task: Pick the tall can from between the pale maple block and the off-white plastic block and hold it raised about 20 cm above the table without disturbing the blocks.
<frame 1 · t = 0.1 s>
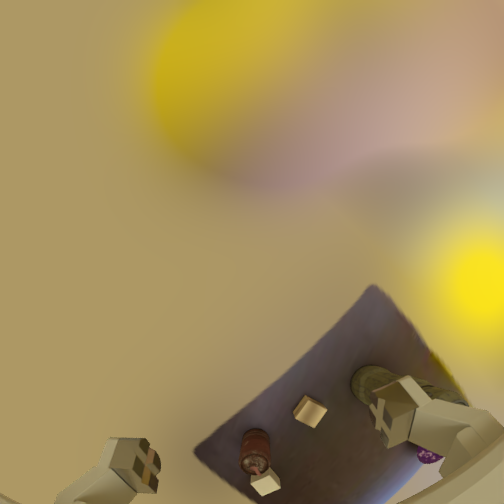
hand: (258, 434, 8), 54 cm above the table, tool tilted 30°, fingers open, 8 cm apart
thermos: (367, 382, 57), on the table
decorative mushroom: (420, 432, 52), on the table
maple block: (307, 408, 56), on the table
can: (256, 439, 55), on the table
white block: (265, 476, 51), on the table
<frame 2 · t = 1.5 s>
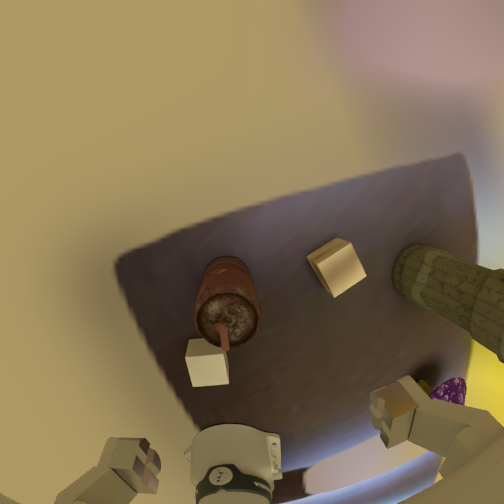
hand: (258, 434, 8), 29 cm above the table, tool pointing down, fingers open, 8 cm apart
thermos: (412, 270, 40), on the table
decorative mushroom: (418, 381, 45), on the table
maple block: (329, 261, 38), on the table
can: (227, 278, 37), on the table
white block: (209, 352, 39), on the table
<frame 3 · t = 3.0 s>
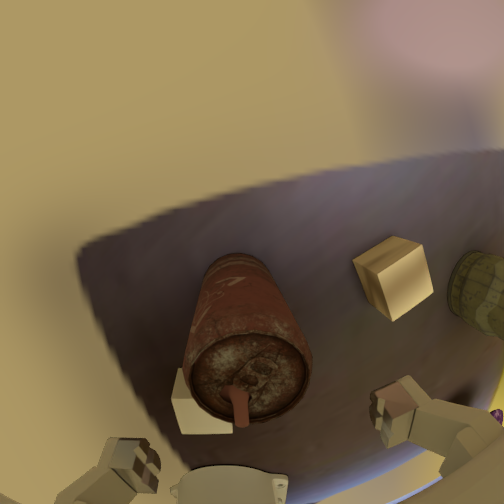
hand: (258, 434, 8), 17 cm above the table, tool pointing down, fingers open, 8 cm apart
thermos: (467, 283, 28), on the table
maple block: (380, 269, 26), on the table
can: (237, 286, 25), on the table
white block: (205, 385, 27), on the table
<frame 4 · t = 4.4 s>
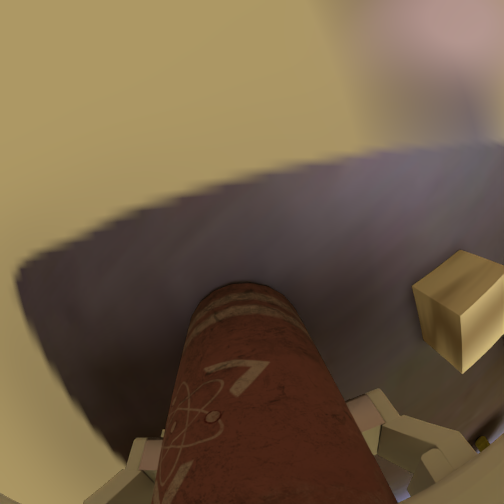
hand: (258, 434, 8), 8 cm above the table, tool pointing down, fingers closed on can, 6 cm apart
maple block: (442, 295, 16), on the table
can: (244, 330, 16), on the table, touching gripper
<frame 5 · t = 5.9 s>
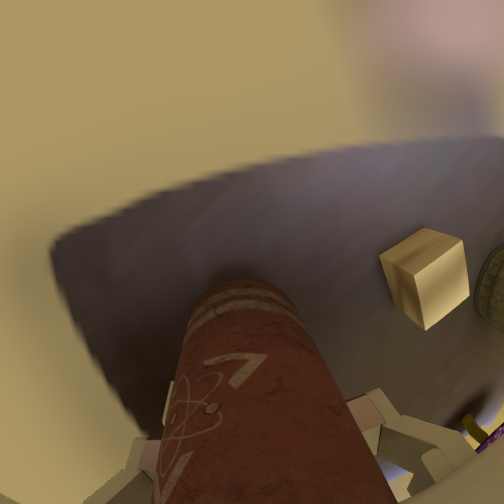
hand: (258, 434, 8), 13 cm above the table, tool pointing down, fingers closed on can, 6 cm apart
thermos: (494, 282, 23), on the table
decorative mushroom: (462, 415, 30), on the table
maple block: (409, 266, 21), on the table
can: (243, 326, 16), point 5 cm above the table, touching gripper
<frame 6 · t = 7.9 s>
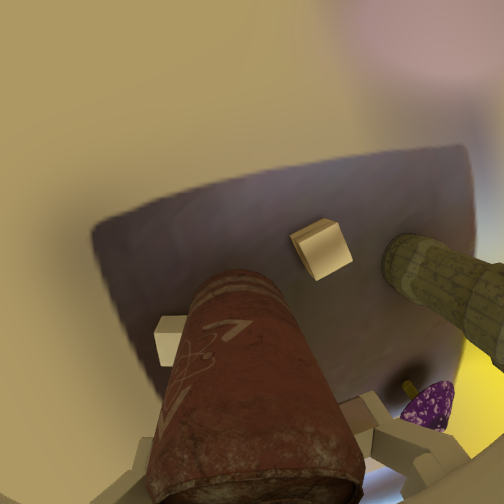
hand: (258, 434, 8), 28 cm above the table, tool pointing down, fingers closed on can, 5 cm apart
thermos: (404, 261, 38), on the table
decorative mushroom: (403, 381, 44), on the table
maple block: (314, 243, 36), on the table
can: (238, 312, 18), point 18 cm above the table, touching gripper
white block: (181, 331, 37), on the table
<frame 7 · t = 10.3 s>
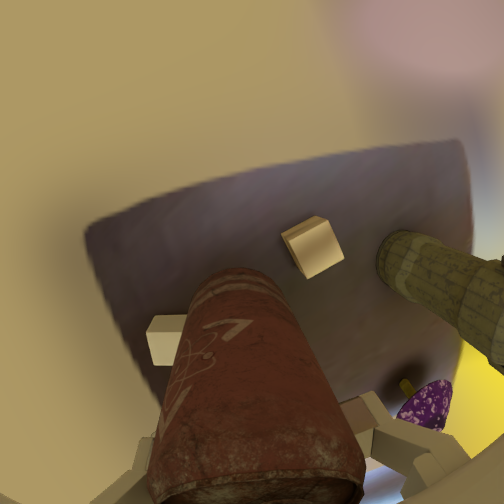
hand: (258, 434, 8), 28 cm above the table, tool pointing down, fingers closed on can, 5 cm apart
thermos: (399, 258, 38), on the table
decorative mushroom: (401, 380, 44), on the table
maple block: (306, 241, 36), on the table
can: (238, 311, 18), point 18 cm above the table, touching gripper
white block: (174, 330, 37), on the table
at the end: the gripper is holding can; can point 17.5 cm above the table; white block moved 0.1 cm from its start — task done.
